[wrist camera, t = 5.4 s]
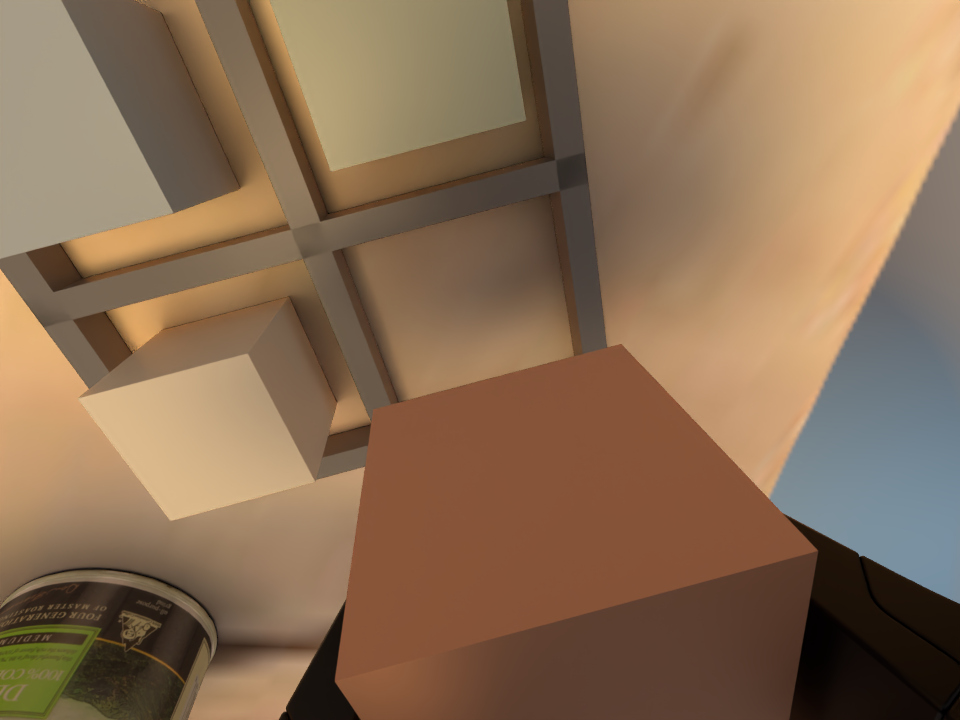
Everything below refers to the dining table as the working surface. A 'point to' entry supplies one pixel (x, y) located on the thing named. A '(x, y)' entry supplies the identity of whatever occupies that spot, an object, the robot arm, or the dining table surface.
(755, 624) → the terracotta block
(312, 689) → the robot arm
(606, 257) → the dining table surface
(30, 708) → the coffee can
